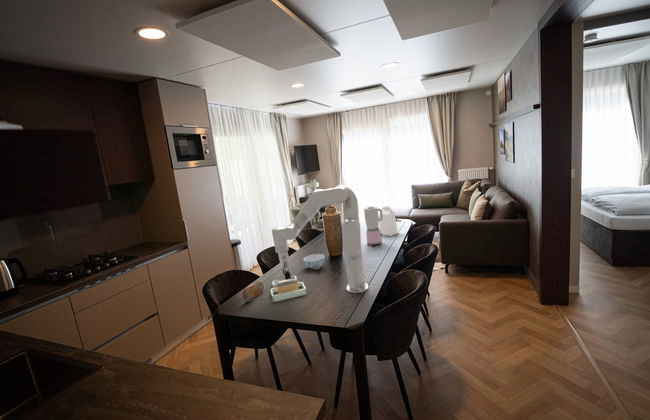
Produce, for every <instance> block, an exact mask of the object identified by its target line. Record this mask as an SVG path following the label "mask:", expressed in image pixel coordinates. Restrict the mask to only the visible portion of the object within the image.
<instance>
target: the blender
mask: <svg viewBox="0 0 650 420" xmlns="http://www.w3.org/2000/svg"><path fill="white" fill-rule="evenodd" d="M363 212H364V220H365V221H364V222H365V225H366V231H365V233H366V234H365V236H366V244H367V245H369V247H372V246H373V245H374V246H375V245H382V242H383V241H382V237H383V235H382V233H381V232H380V224H379V221H381V220H382V219H383V217H382V209H381V208H378V207H377V206H374V205H369V206H367V207H365V208H364V209H363ZM379 215H380V217H381V218H380V219H379Z"/></svg>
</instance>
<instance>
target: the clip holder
mask: <svg viewBox="0 0 650 420" xmlns="http://www.w3.org/2000/svg"><path fill="white" fill-rule="evenodd" d="M294 279H297V281H298V282H299V280H298V278H297V276H296V275H293V276H292V275H291V279H288V280H285V279H283V280H279V279H274V280H272V283H271V284H272V288H276V287H277V283H281V282H285V281H290V280H294Z"/></svg>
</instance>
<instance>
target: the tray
mask: <svg viewBox="0 0 650 420" xmlns="http://www.w3.org/2000/svg"><path fill="white" fill-rule="evenodd" d="M298 287H301V288H302V289H301V288H300V289H299V290H296V291H292V292H287V293H283V294H279V295H278V294H275V295H274V293H278V289H277V287H276V288H273V287H272V288H270V294H271V299H272V302H273V303H276V302H280V301H285V300H288V299H293V298H296V297H301V296H302V297H303V296H306V295H308V294H307V288H306V286H305V284H304V281H298Z"/></svg>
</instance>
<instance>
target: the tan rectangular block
mask: <svg viewBox="0 0 650 420" xmlns="http://www.w3.org/2000/svg"><path fill="white" fill-rule="evenodd" d="M297 280H298V278H297V279H294V280H290V281H285V282H281V283H277V289H278V292H277V295H279V294H283V293H287V292H292V291H296V290H300V289H299V287H298V283H299V280H298V281H297Z"/></svg>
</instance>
